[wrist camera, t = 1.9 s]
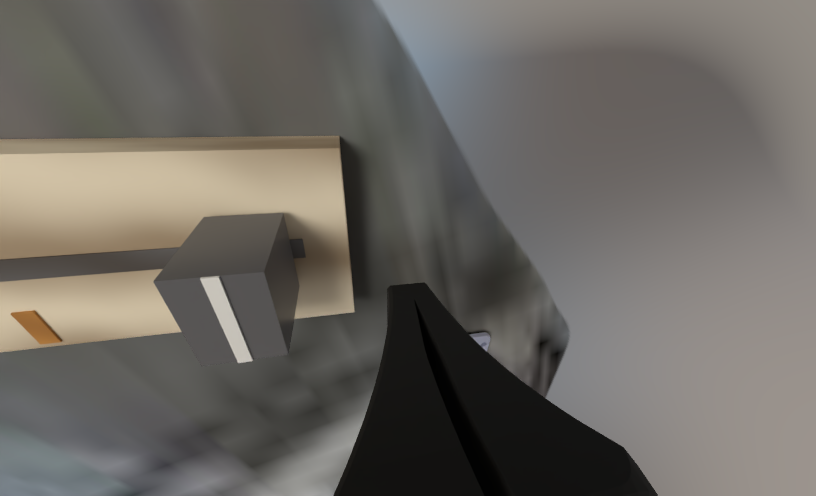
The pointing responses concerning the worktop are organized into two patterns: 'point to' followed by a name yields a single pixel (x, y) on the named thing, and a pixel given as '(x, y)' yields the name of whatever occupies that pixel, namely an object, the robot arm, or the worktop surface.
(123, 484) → the worktop surface
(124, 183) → the fader console
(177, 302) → the fader knob
